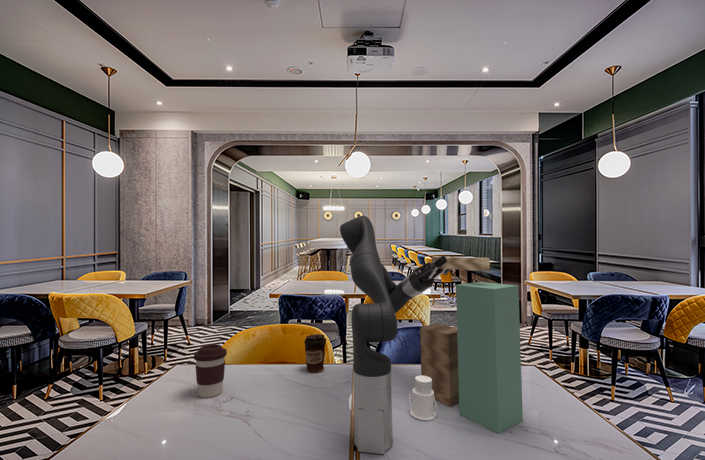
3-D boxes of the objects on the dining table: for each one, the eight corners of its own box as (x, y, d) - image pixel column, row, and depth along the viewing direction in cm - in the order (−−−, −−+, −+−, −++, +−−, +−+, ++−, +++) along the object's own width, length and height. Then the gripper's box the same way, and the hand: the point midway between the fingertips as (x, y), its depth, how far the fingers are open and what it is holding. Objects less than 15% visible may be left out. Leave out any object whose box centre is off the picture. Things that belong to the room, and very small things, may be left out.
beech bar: (489, 270, 97) (489, 257, 98) (481, 271, 96) (481, 258, 96) (439, 267, 114) (439, 256, 114) (431, 267, 112) (431, 257, 112)
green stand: (522, 420, 93) (518, 285, 94) (498, 433, 87) (494, 289, 88) (483, 403, 103) (480, 281, 104) (459, 414, 97) (455, 284, 98)
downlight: (404, 416, 96) (405, 380, 96) (412, 405, 102) (413, 371, 102) (433, 424, 92) (434, 386, 93) (440, 412, 99) (440, 377, 99)
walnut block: (467, 399, 106) (465, 330, 107) (450, 406, 101) (448, 334, 102) (438, 387, 115) (437, 323, 116) (421, 393, 111) (420, 326, 112)
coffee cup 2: (325, 374, 128) (324, 339, 128) (302, 374, 128) (302, 339, 128) (327, 366, 137) (327, 332, 137) (306, 366, 137) (306, 333, 137)
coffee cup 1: (204, 403, 106) (204, 353, 107) (187, 395, 112) (187, 348, 113) (232, 391, 114) (232, 345, 115) (215, 384, 120) (215, 341, 121)
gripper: (436, 290, 122) (470, 267, 110) (405, 294, 114) (438, 270, 102) (428, 271, 125) (460, 247, 113) (397, 273, 118) (428, 248, 106)
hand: (449, 258), depth 108 cm, fingers closed on beech bar, 3 cm apart
